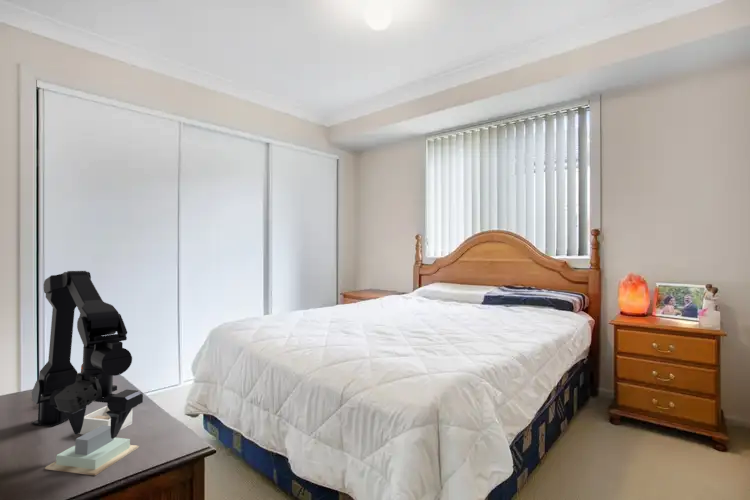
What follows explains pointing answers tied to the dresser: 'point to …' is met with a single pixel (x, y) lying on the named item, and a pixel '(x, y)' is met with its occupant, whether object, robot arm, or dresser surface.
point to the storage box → (101, 420)
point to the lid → (93, 449)
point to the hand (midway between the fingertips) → (95, 435)
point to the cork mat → (91, 471)
